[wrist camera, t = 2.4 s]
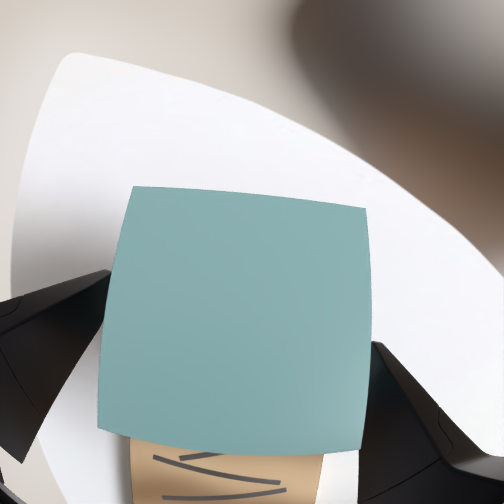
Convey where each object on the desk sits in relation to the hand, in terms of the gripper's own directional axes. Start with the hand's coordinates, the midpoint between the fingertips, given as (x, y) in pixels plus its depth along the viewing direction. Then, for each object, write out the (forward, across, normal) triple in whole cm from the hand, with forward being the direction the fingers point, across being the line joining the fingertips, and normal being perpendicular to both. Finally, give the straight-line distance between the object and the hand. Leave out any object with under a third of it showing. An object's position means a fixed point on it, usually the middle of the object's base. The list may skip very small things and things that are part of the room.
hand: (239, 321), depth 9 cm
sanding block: (+5, 0, +6) cm, 7 cm away
